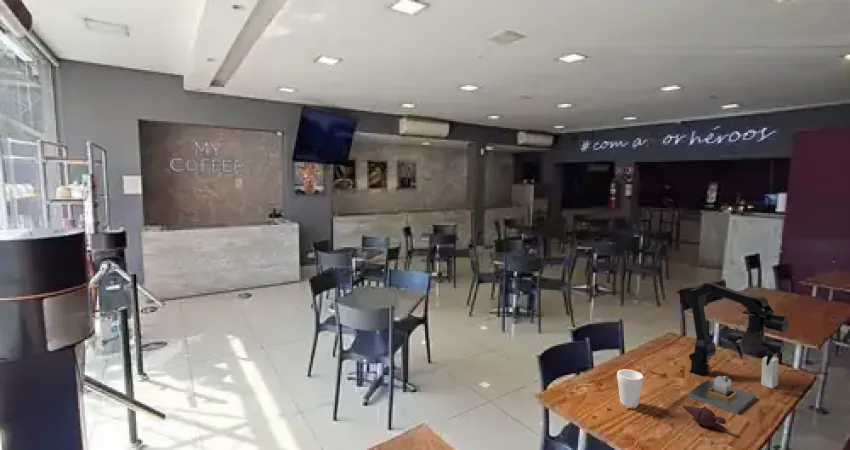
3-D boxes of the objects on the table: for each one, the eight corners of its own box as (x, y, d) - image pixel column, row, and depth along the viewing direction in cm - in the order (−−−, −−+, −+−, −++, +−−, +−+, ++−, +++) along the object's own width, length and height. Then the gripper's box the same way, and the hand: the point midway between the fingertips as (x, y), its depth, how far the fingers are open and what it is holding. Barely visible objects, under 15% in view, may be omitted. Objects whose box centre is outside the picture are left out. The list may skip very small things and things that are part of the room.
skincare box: (772, 388, 189) (774, 361, 188) (760, 384, 193) (761, 358, 192) (778, 384, 193) (779, 358, 192) (765, 381, 196) (767, 355, 195)
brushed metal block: (713, 397, 183) (714, 375, 182) (717, 394, 185) (718, 372, 184) (725, 401, 179) (726, 379, 178) (730, 398, 182) (731, 376, 181)
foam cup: (631, 413, 171) (632, 381, 170) (611, 403, 179) (612, 372, 178) (647, 407, 175) (648, 376, 174) (627, 397, 183) (628, 367, 182)
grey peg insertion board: (687, 396, 184) (687, 390, 183) (707, 383, 195) (708, 377, 195) (737, 414, 169) (737, 407, 169) (756, 398, 181) (756, 392, 181)
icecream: (677, 403, 166) (720, 424, 153) (687, 393, 169) (731, 413, 157) (677, 418, 168) (720, 440, 155) (687, 408, 171) (730, 428, 159)
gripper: (722, 324, 187) (721, 359, 189) (776, 336, 172) (774, 374, 174) (733, 319, 194) (732, 353, 195) (786, 330, 179) (784, 367, 180)
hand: (754, 361), depth 186 cm, fingers open, 9 cm apart
